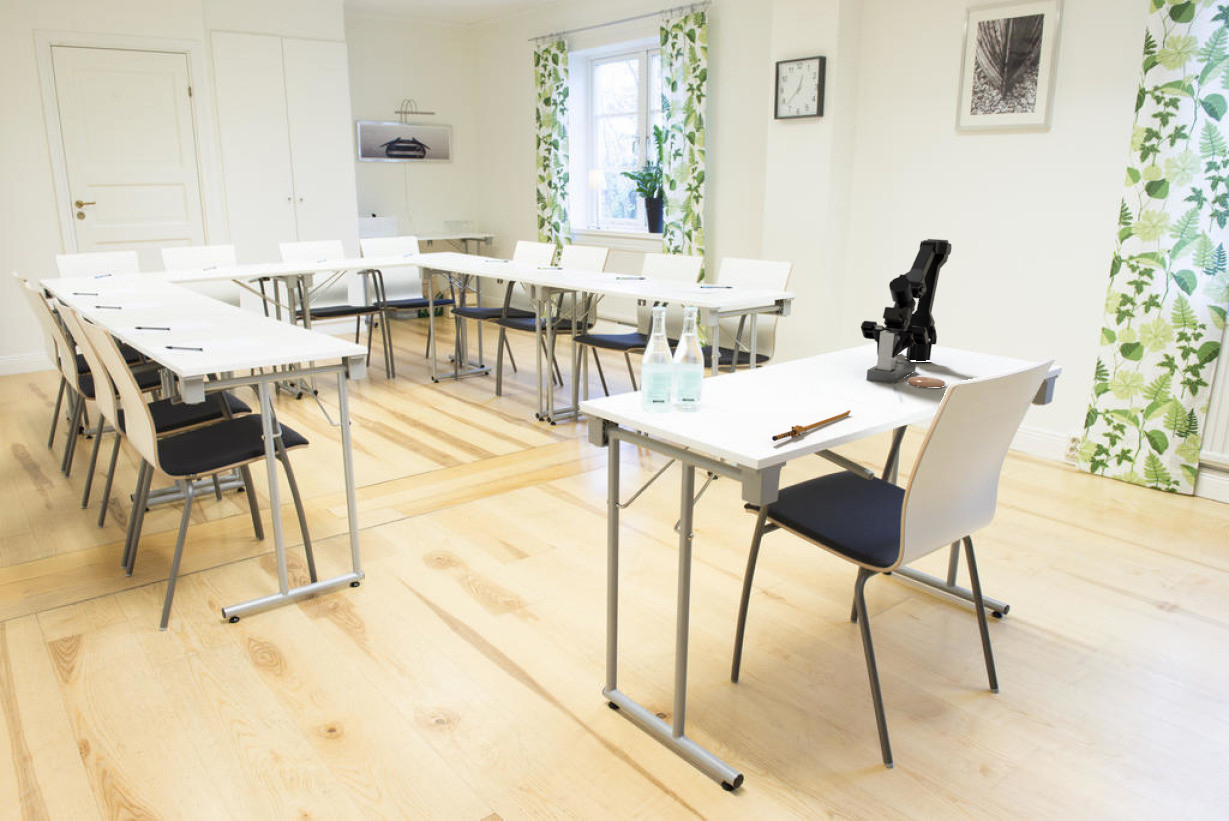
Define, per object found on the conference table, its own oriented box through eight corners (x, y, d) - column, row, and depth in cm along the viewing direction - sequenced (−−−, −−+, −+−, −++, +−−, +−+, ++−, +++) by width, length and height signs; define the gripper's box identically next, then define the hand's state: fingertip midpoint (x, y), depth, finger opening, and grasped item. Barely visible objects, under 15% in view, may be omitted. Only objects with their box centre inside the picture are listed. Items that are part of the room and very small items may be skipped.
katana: (851, 420, 212) (853, 409, 211) (776, 444, 187) (777, 432, 186) (846, 419, 213) (848, 408, 212) (771, 443, 188) (772, 431, 187)
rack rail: (889, 368, 266) (890, 358, 266) (915, 371, 262) (916, 361, 261) (866, 379, 250) (867, 369, 249) (893, 383, 246) (894, 373, 245)
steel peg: (880, 376, 254) (885, 330, 250) (893, 378, 252) (898, 331, 248) (875, 379, 251) (880, 331, 247) (889, 381, 248) (894, 333, 245)
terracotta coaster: (935, 380, 251) (936, 377, 251) (950, 388, 242) (951, 385, 241) (902, 380, 251) (902, 376, 250) (916, 388, 241) (916, 384, 241)
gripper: (865, 293, 253) (849, 335, 247) (930, 299, 243) (914, 343, 237) (872, 316, 261) (856, 357, 256) (934, 323, 251) (919, 366, 245)
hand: (885, 355), depth 248 cm, fingers closed on steel peg, 4 cm apart
